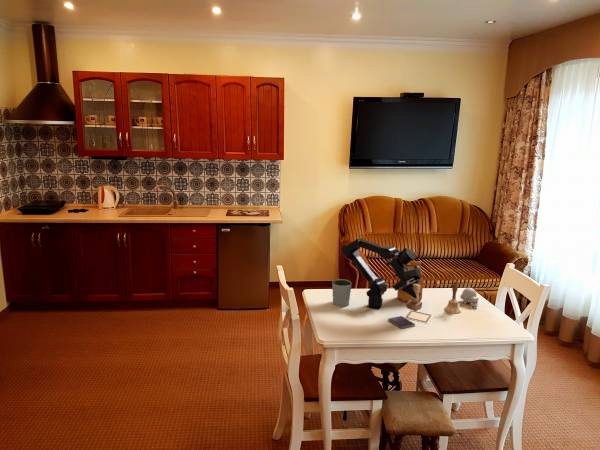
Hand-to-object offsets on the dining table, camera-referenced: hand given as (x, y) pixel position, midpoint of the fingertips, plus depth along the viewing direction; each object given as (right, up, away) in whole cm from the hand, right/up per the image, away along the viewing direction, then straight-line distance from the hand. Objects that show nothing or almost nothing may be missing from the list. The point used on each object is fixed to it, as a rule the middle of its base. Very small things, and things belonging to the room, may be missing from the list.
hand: (418, 296), depth 215 cm
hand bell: (+23, -10, +18) cm, 30 cm away
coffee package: (+3, -7, +30) cm, 31 cm away
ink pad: (-8, -13, -1) cm, 15 cm away
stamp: (-1, -6, +2) cm, 7 cm away
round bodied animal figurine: (+35, -9, +27) cm, 45 cm away
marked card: (+2, -11, +8) cm, 14 cm away
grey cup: (-36, -7, +20) cm, 42 cm away
